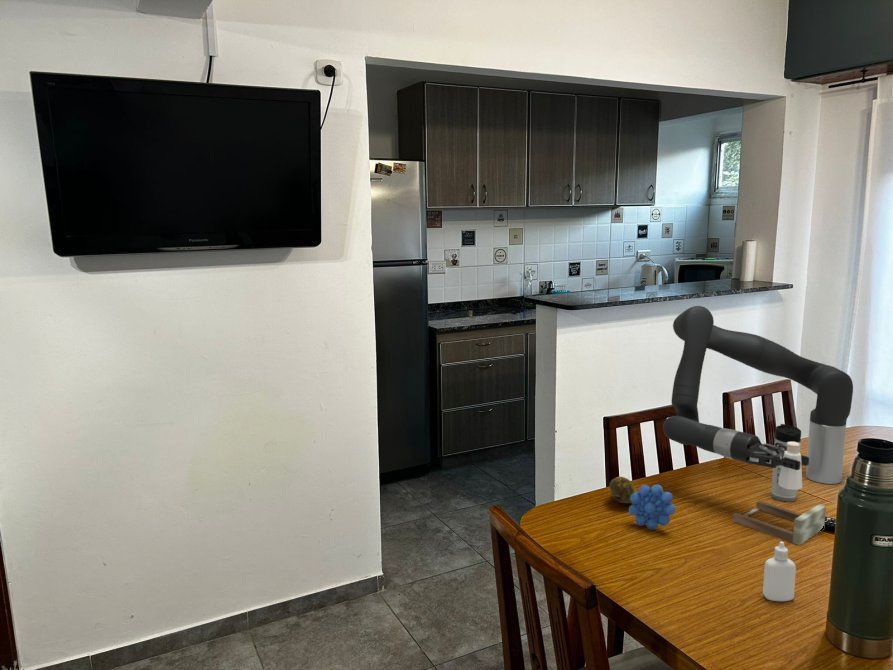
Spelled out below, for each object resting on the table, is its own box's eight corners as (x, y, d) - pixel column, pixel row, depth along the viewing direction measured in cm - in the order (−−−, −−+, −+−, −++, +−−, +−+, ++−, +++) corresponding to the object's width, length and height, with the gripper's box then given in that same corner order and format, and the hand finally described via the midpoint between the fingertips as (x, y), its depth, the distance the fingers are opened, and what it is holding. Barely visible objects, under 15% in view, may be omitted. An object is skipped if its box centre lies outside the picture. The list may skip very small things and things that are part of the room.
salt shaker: (807, 489, 162) (810, 446, 160) (785, 490, 162) (789, 447, 160) (794, 481, 167) (797, 438, 165) (773, 481, 167) (776, 439, 165)
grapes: (679, 528, 167) (681, 483, 165) (670, 539, 162) (672, 492, 160) (634, 517, 174) (636, 473, 172) (624, 526, 169) (626, 481, 167)
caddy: (758, 507, 178) (760, 486, 177) (824, 528, 166) (825, 506, 165) (732, 521, 171) (734, 499, 170) (799, 545, 158) (801, 521, 157)
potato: (647, 498, 186) (648, 470, 184) (628, 514, 176) (629, 485, 174) (619, 491, 191) (620, 464, 189) (599, 506, 181) (599, 478, 180)
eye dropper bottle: (763, 588, 140) (767, 534, 138) (794, 595, 137) (798, 540, 135) (761, 598, 136) (765, 543, 134) (792, 606, 133) (797, 550, 131)
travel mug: (790, 492, 188) (795, 423, 184) (800, 502, 181) (805, 431, 178) (767, 492, 188) (771, 423, 185) (776, 501, 182) (781, 431, 178)
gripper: (722, 437, 170) (791, 455, 156) (751, 426, 178) (819, 442, 165) (720, 465, 171) (788, 486, 157) (749, 453, 179) (816, 471, 166)
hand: (803, 463), depth 161 cm, fingers closed on salt shaker, 4 cm apart
